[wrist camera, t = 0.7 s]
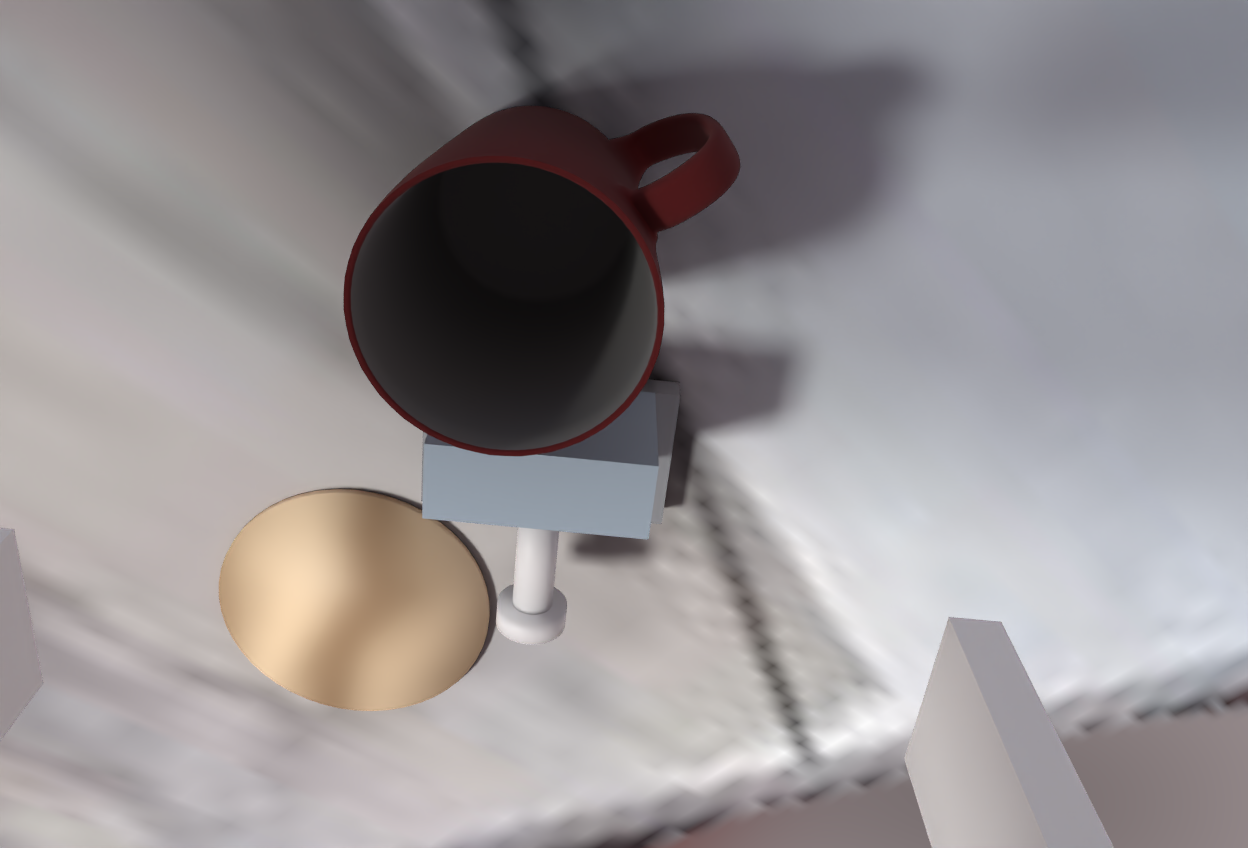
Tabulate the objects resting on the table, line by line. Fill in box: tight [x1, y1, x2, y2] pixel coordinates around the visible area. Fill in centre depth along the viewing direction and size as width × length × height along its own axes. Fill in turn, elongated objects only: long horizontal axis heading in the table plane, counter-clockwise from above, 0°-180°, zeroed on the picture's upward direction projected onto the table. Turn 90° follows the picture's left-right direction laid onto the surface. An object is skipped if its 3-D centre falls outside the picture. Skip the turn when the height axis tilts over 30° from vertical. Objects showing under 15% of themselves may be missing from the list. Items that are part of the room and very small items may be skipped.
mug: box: [344, 106, 740, 456], centre depth 33 cm, size 12×9×11 cm
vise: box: [421, 379, 681, 645], centre depth 35 cm, size 10×34×7 cm, turn 174°
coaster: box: [219, 489, 490, 711], centre depth 47 cm, size 12×12×1 cm
